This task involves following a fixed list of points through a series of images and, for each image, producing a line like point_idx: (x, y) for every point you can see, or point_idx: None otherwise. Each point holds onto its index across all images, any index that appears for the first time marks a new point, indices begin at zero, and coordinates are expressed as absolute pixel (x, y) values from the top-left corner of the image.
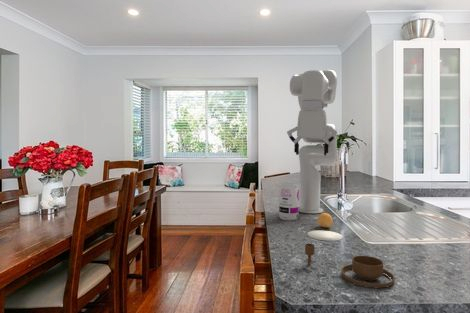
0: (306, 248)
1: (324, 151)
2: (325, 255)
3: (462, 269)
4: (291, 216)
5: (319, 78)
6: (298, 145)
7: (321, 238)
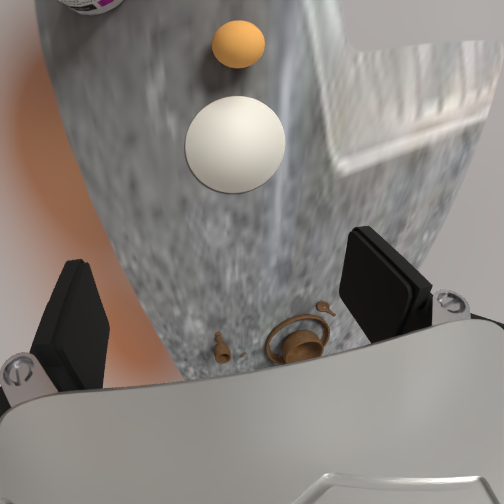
0: (218, 359)
1: (354, 315)
2: (241, 288)
3: (424, 256)
4: (110, 6)
5: None
6: (92, 382)
7: (228, 183)
